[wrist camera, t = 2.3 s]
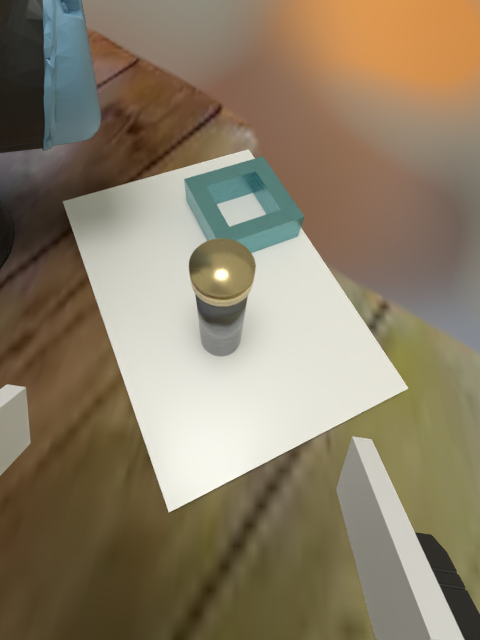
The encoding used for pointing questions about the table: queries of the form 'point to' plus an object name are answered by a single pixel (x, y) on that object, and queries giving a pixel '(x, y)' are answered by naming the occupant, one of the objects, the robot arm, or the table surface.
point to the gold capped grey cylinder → (221, 292)
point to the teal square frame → (236, 183)
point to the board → (255, 346)
